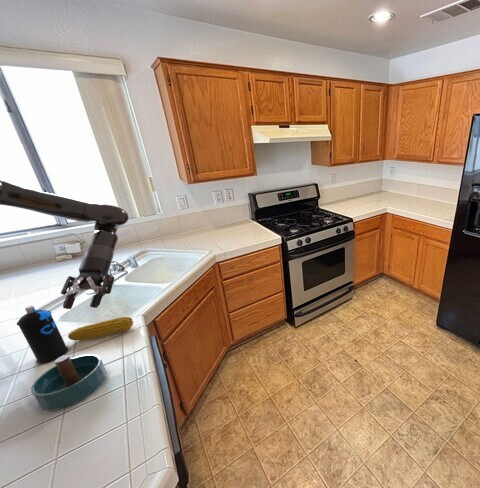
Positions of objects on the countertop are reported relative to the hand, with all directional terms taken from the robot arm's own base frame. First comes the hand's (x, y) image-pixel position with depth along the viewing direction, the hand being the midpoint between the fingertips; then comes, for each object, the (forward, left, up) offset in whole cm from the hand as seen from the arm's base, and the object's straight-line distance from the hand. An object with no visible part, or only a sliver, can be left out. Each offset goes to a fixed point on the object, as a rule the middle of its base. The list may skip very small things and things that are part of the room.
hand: (80, 308), depth 82 cm
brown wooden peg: (-5, -9, -21) cm, 23 cm away
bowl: (-5, -9, -21) cm, 24 cm away
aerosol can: (-17, +15, -22) cm, 31 cm away
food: (-3, +19, -22) cm, 29 cm away
